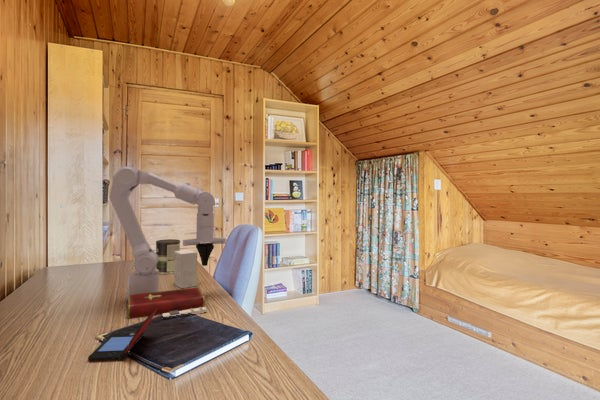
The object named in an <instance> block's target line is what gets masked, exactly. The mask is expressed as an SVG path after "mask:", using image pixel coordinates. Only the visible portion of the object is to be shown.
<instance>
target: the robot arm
mask: <svg viewBox="0 0 600 400" xmlns="http://www.w3.org/2000/svg"><path fill="white" fill-rule="evenodd" d="M139 185H143V186H145V185H151V186H154V187H158V188H160V189H163V190H166V191H168V192H170V193H173V195H174V198H175V199H178V200H181V201H184V202H185V203H187V204H191V205H193V206H194V205H197V213H196V230H195V231H196V238H191V239H182V246H183V247H188V246H195V247H196V250H197V253H198V254H199V257H200V261H201V266H202V267H206V266H208V264H209V260H210V256H211V254H212V252H213V250H214V248H215V245H220V244H227V243H226V242H227V239H226V237H214V222H215V221H214V219H215V217H214V215H215V214H214V205H215V203H216V201H215V198H214V196H213V195H212V194H211V193H210V192H207V191H204V189H202V188H197V187H195V186H192V185H191V183H189V182H186V183H185V182H180V183H174V182H172V181H170V180H168V179H165V178H163V177H162V176H161V177H160V176H158V175H156V174H154V173H152V172H149V171H145V170H141V169H137V168H133V167H131V166H121V167H120V168H119V169H117V171H115V173H114V174H113V176H112V184H111V188H110V192H109V200H110V203H111V204H112V207H113V209H114V211H115V214H116V215H117V218H118V219H119V222H120V225H121V227H122V229H123V232H124V233H125V236H126V238H127V240H128V242H129V244H130V247H131V250H132V256H133V259H134V269H135V270H134V273H131V274H130V273H129V274H128V275H127V286H126V287H127V288H126V289H127V291H126V299H127V303H128V302H129V295H131V294H140V293H150V292H159V280H160V279H159V275H160V274H159V270H158V269H157V268H156V264H157V263H158V255H157V254H156V251H154V250H153V249H152V247H151V245H150V244H149V242H148V241H147V239H146V236H145V234H144V232H143V229H142V227H141V225H140V223H139V220H138V218H137V215H136V214H135V211H134V209H133V206H132V204H131V202H130V200H129V197H130V196H131V194H132V192H133V191H134V190H135V188H137V187H138V186H139Z"/></svg>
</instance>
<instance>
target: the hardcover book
mask: <svg viewBox="0 0 600 400" xmlns="http://www.w3.org/2000/svg"><path fill="white" fill-rule="evenodd" d="M127 303H128V305H127V319H135V318H142V317H148V316H149V315H150V314H151V313H152V312H153V311H154V310H155V308H157V311H156V313H155V314H154V316H157V315H159V316H160V315H162V314H163V313H168V312H169V311H175V310H188V309H190V308H192V309H195V308H199V307H205V308H206V298H205V296H204V293H203V291H201V289H200V287H187V288H178V289H170V290H161V291H158V292H150V293H140V294H131V295H129V302H128V301H127Z"/></svg>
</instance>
